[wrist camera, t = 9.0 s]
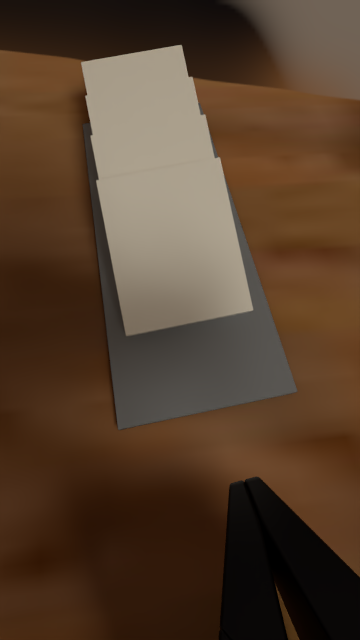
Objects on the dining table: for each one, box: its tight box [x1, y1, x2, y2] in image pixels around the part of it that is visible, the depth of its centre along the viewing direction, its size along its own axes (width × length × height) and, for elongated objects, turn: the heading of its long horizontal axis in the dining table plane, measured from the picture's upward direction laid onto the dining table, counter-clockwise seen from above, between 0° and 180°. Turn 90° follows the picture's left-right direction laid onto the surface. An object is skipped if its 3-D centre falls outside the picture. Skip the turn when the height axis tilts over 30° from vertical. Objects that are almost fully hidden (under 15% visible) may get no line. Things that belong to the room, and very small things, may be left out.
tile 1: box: [96, 157, 253, 336], centre depth 24 cm, size 2×10×12 cm
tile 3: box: [85, 77, 201, 135], centre depth 28 cm, size 2×10×12 cm
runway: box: [83, 103, 297, 430], centre depth 29 cm, size 32×13×1 cm, turn 11°
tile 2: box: [90, 115, 215, 180], centre depth 26 cm, size 2×10×12 cm
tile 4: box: [81, 45, 188, 95], centre depth 30 cm, size 2×10×12 cm
